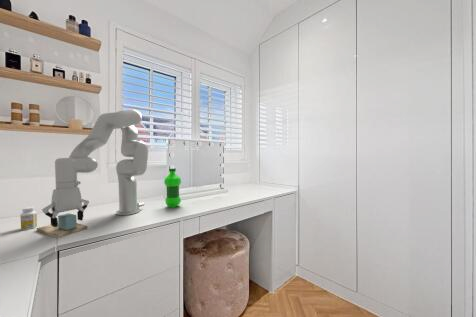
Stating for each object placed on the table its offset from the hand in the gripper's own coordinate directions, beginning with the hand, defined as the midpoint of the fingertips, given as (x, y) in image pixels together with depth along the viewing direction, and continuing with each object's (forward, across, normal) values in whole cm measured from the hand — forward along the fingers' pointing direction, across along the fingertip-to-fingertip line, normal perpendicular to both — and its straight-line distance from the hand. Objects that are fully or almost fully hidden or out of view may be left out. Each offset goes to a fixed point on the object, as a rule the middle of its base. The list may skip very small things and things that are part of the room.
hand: (68, 223), depth 94 cm
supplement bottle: (+4, +6, -23) cm, 24 cm away
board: (+4, 0, -6) cm, 7 cm away
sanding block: (+3, 0, -1) cm, 3 cm away
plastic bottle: (+4, -54, +10) cm, 55 cm away
